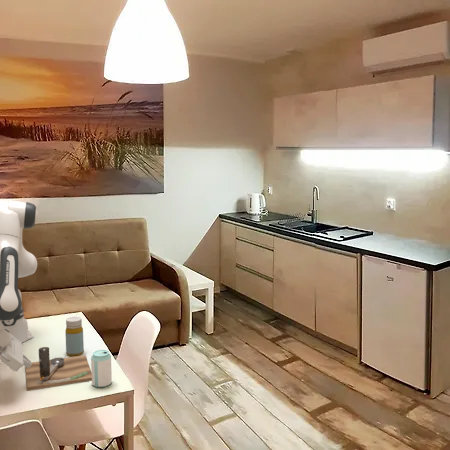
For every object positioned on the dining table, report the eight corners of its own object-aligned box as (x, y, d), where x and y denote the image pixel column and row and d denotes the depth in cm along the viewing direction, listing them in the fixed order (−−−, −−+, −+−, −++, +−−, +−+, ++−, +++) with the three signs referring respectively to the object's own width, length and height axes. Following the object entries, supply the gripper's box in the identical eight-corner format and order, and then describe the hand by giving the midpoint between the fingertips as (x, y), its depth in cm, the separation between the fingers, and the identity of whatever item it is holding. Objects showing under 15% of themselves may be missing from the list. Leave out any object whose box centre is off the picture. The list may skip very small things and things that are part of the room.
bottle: (78, 357, 212) (77, 322, 210) (63, 356, 214) (61, 321, 212) (86, 351, 219) (85, 316, 217) (71, 349, 221) (70, 315, 218)
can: (99, 378, 194) (98, 347, 192) (115, 381, 192) (114, 350, 190) (88, 386, 188) (86, 354, 186) (104, 389, 185) (103, 357, 183)
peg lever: (53, 362, 204) (52, 334, 202) (66, 362, 204) (64, 334, 202) (34, 383, 186) (32, 353, 184) (47, 384, 186) (46, 353, 184)
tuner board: (25, 366, 204) (25, 362, 204) (85, 357, 212) (85, 354, 212) (27, 390, 184) (26, 387, 183) (93, 380, 192) (93, 376, 192)
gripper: (5, 346, 172) (37, 369, 177) (5, 326, 191) (35, 348, 196) (-9, 361, 171) (24, 384, 176) (-7, 339, 190) (23, 361, 195)
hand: (30, 365), depth 186 cm, fingers closed
